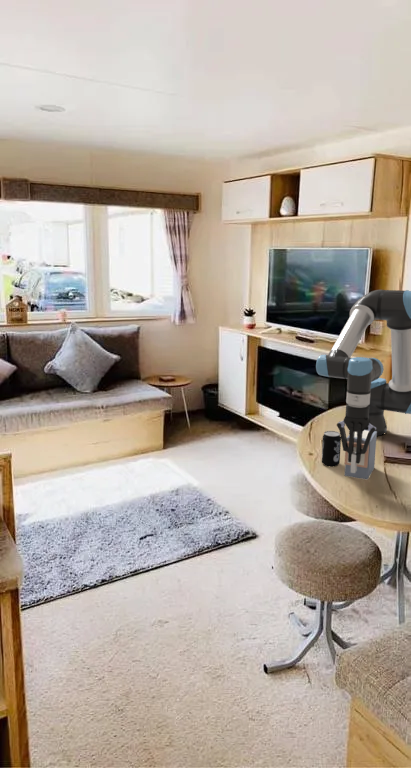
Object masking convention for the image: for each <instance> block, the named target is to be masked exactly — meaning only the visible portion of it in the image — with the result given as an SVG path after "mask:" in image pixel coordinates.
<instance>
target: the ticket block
mask: <svg viewBox="0 0 411 768" xmlns="http://www.w3.org/2000/svg"><path fill="white" fill-rule="evenodd" d="M368 433H369V431H368V430H364V431H363V434H362V444H365V441H366V438H367V435H368ZM346 438H347V441H348V442H349V435H348V436H346ZM354 443H357V432H355V435H354ZM376 449H377V431H374V432H373V434H372V437H371V440H370V443H369V453H368V466H367V468H364V467H358V466H357V471H356V472H355V473H351V465H346V464H345V463H344V476H345V477H350V478H355V479H361V480H367V481H368V480H369V479H370V476H371V474H372V473H373V471H374V469H375V464H376V463H375V462H376Z"/></svg>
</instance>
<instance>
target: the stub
mask: <svg viewBox="0 0 411 768" xmlns="http://www.w3.org/2000/svg"><path fill="white" fill-rule="evenodd" d="M347 443H348V447H349V442H348V441H347ZM356 447H357V443H354V451H353V452H356ZM363 447H364V444H362V448H361V449H363ZM344 452H345V455H344V465H345V464H346V465H351V462H348V452H347V451H344ZM368 453H369V446H368V448H367V451H366V453H365V454H361V459H360V463H359V464H358V463H357V466H358V467H364V468H367V466H368Z"/></svg>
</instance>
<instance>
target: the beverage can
mask: <svg viewBox="0 0 411 768" xmlns="http://www.w3.org/2000/svg"><path fill="white" fill-rule="evenodd" d="M321 443H322V445H321V463H322V465H324V466H326V467H329V466H330V468H331V467H332V468H334V467H337V466H339V464H340V462H341V461H340V460H341V445H342V441H341V436H340V431H335V430H327V431H324V432H323V435H322V441H321ZM333 466H334V467H333Z"/></svg>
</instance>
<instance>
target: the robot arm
mask: <svg viewBox="0 0 411 768" xmlns="http://www.w3.org/2000/svg"><path fill="white" fill-rule="evenodd" d="M377 320H378V321H379V320H380V321H386V328H388V330H389V329H390V343H391V345H390V347H391V376H392V377H391V378H392V379H390V380H389V382H388V383H387V380H386V378H382V377H381V376H382V375H383V373H384V364H383V362H382V361H381V360H380V359H378V358H375V357H363V356H362V357H361V356H360V357H357V356H356V357H352V355H353V354H354V352H355V350H356V348H357V346H358V344H359V343H360V341H361V339H362V337H363V335H364V334H365V332H366V329H367V328H368V326H369V325H371V324H373V322H374V321H377ZM315 370H316V373H317V374H318V375H319V376H323V377H327V378H336V379H344V380H345V379H346V381H347V382H346V383H347V385H346V399H345V402H346V404H345V415H344V418H343V420H341V421H338V422H337V423H336V427H337V428H338V430H339V433H340V437H341V445H342V450H343V452H345V451H347V452H348V462H351V473H355V472H356V471H357V463H358V464H359V463H360V459H361V454H365V453H366V451H367V448H368V446H369V443H370V440H371V437H372V434H373V432H374V431H377V436H383V435H382V434H384V433H386V434H387V430H388V429H387V428H388V426H387V422H386V418H385V414H384V413H385V411H387V412H393V413H394V412H395V413H401V414H404V415H405V414H406V415H407V414H409V415H411V290H408V289H406V290H401V289H400V290H389V289H376V290H372V291H370V292H368V293H366V294H364V295H363V296H361V297H360V298H359V299H357V300H356V301H355V303H354V304H353V305H352V307H351V309H350V310H349V318H348V319H347V321H346V323H345V324H344V326H343V328H342V329H341V331H340V334H339V335H338V337H337V339H336V340H335V342H334V344H333V346H332V348H331V349H330V351H329V352H328V354H321V355H319V356H318V357H317V358H316V364H315ZM345 427H347V430H348V432H349V433H348V436H349V447H348V443H347V434H346V428H345ZM364 430H368V431H369V433H368V435H367V438H366V441H365V444H364V447H363V449H361V448H362V434H363V431H364ZM355 432H357V447H356V452H353V451H354V435H355ZM384 435H385V434H384Z"/></svg>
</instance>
